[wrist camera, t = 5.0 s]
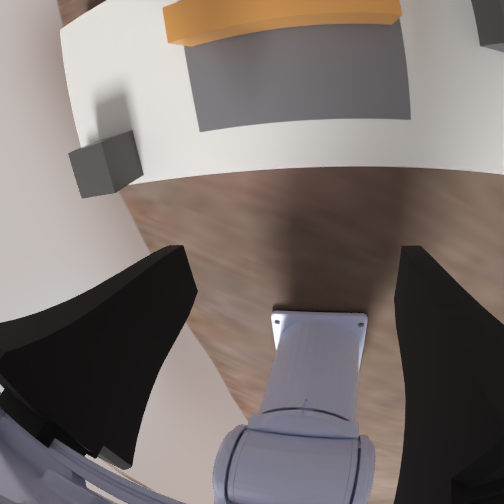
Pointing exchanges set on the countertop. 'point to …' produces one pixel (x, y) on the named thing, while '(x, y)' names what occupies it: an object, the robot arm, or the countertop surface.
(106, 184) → the plug
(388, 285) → the countertop surface
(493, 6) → the plug
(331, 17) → the switch
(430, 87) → the board
